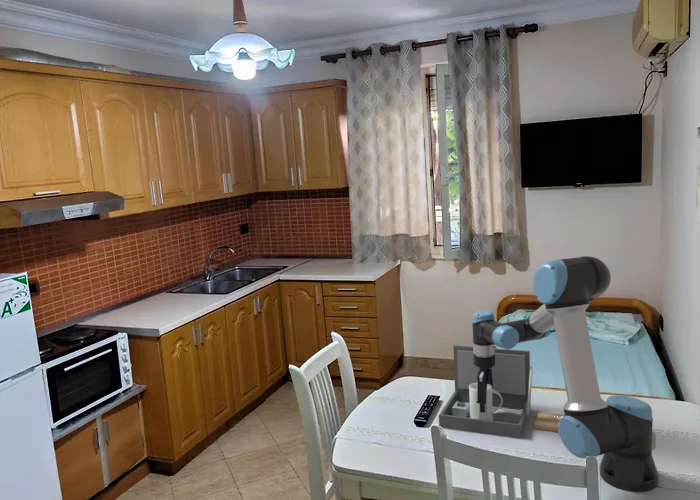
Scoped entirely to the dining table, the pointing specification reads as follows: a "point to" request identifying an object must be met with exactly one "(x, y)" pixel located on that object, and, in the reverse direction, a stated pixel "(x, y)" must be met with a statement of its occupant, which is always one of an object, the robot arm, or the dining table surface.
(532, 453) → the dining table surface
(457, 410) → the block
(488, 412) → the mug
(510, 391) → the case
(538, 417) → the mat
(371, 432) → the dining table surface
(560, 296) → the robot arm
